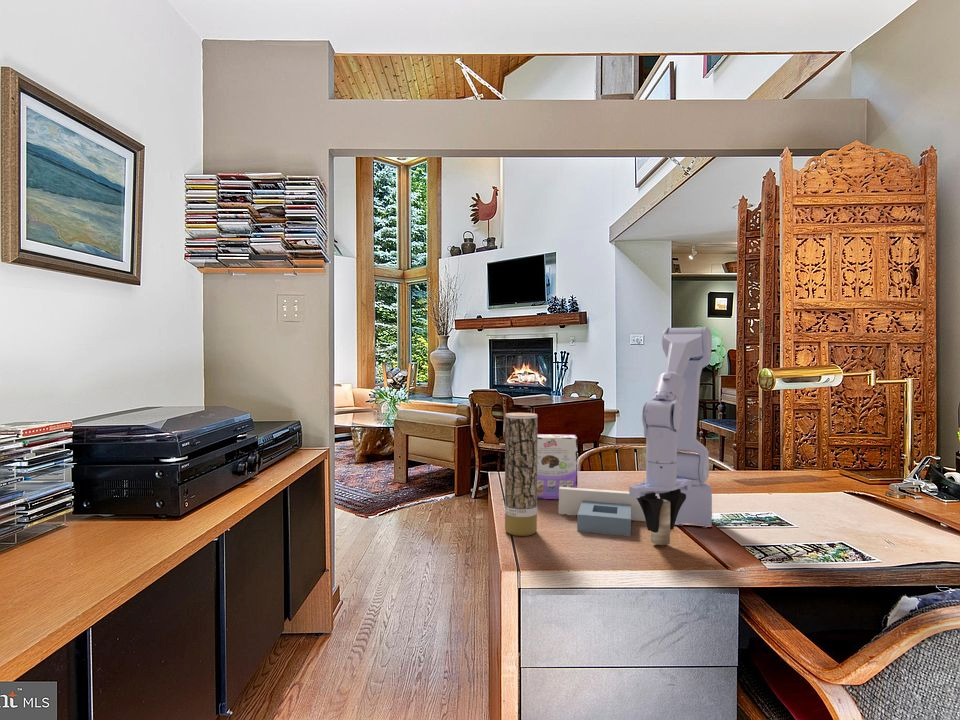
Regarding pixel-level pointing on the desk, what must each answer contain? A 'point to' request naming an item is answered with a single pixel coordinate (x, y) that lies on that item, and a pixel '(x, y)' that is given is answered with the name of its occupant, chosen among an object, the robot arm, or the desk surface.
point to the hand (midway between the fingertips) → (660, 529)
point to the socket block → (604, 518)
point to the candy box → (555, 464)
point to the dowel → (663, 526)
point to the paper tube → (521, 473)
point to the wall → (596, 500)
